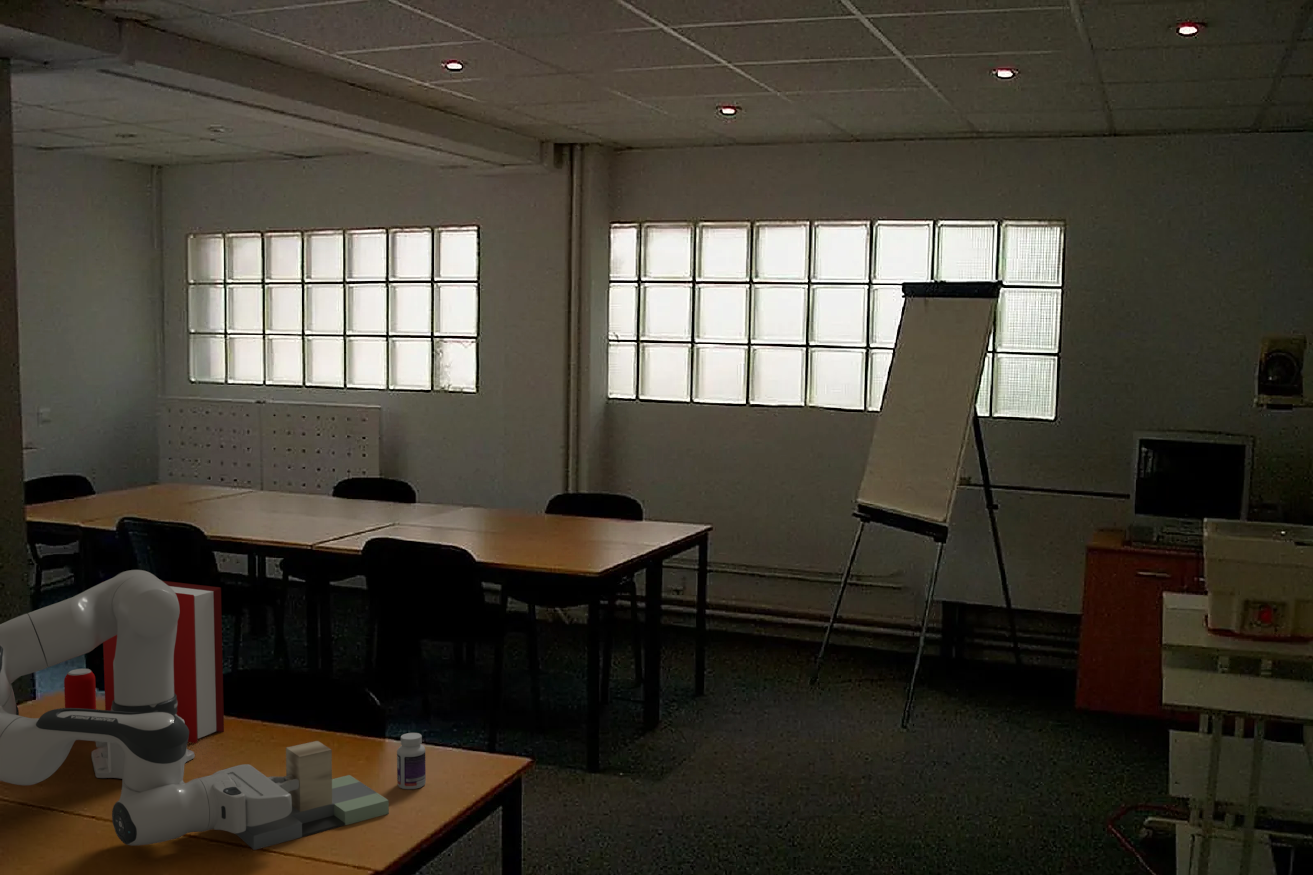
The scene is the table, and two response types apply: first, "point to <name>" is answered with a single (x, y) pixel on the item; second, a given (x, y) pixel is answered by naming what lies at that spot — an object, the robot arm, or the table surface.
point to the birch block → (310, 774)
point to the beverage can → (80, 689)
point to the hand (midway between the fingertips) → (295, 781)
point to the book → (190, 660)
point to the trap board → (321, 815)
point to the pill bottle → (411, 762)
